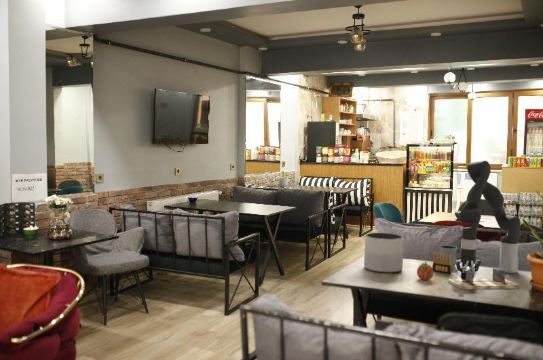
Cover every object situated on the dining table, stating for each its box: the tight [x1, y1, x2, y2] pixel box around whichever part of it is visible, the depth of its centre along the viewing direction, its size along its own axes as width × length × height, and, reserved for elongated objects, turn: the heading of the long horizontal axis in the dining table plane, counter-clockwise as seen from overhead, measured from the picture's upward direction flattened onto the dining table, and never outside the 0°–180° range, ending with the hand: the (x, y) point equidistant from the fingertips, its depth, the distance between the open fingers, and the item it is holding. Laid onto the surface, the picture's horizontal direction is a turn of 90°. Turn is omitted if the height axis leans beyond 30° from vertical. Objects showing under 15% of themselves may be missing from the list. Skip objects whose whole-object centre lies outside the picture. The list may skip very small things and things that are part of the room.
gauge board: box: [447, 267, 520, 290], centre depth 276 cm, size 32×14×8 cm, turn 98°
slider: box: [460, 268, 475, 283], centre depth 276 cm, size 4×8×6 cm, turn 8°
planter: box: [363, 232, 404, 274], centre depth 306 cm, size 22×22×20 cm
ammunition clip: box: [431, 251, 452, 275], centre depth 301 cm, size 11×2×12 cm, turn 55°
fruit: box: [416, 261, 434, 281], centre depth 284 cm, size 9×10×10 cm
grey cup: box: [439, 244, 458, 269], centre depth 318 cm, size 10×10×12 cm
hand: (467, 279), depth 277 cm, fingers closed on slider, 4 cm apart
